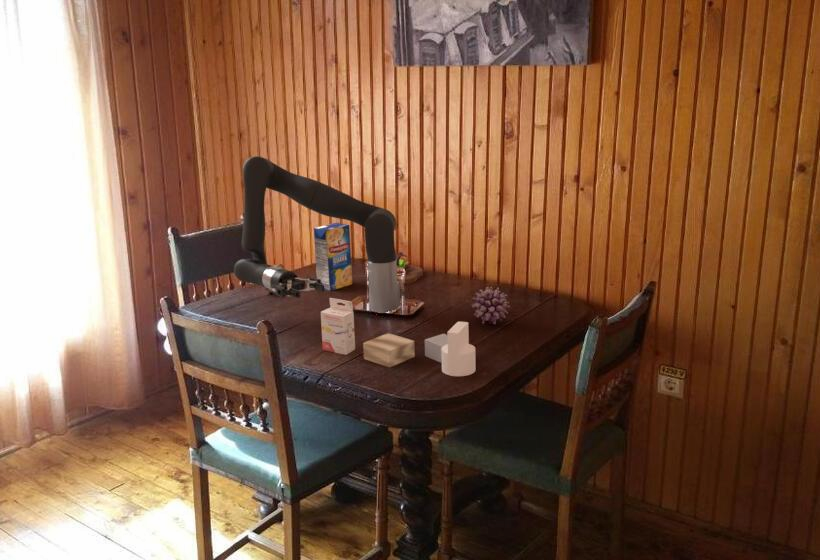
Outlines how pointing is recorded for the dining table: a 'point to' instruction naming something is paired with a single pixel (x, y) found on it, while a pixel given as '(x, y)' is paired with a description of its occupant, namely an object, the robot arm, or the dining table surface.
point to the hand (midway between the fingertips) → (311, 291)
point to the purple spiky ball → (490, 305)
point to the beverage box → (333, 255)
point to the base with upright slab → (458, 352)
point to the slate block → (435, 346)
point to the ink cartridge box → (338, 327)
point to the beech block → (388, 350)
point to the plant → (409, 269)
